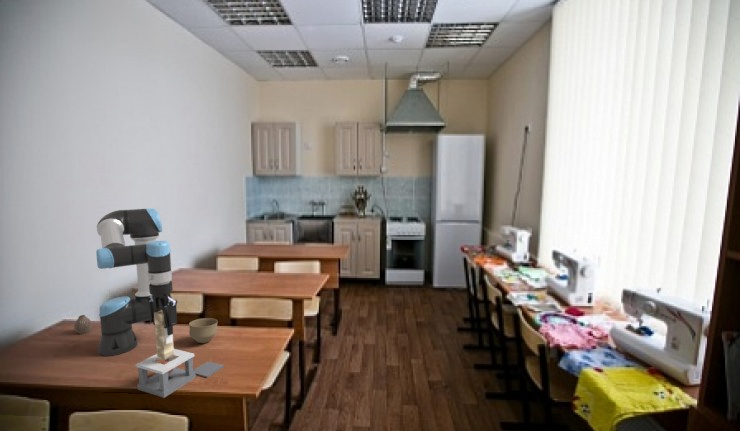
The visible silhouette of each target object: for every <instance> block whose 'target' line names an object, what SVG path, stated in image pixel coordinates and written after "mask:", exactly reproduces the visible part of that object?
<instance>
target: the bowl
mask: <svg viewBox="0 0 740 431" xmlns="http://www.w3.org/2000/svg"><path fill="white" fill-rule="evenodd" d="M188 325H189V332H188V333H189V337H190V338H191V339H193V340H194V341H196V342H197V343H198V344H204V343H208V342H209V341H210V340H211V339H213V338H214V337H215V336H216V334H218V333H217V332H218V320H217V319H216V318H211V317H206V318H205V317H204V318H198V319H195V320H191V321H190V322H189V324H188Z"/></svg>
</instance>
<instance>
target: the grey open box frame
mask: <svg viewBox="0 0 740 431" xmlns="http://www.w3.org/2000/svg"><path fill="white" fill-rule="evenodd" d="M195 356H196V355H195V353H194V352H193V353H192V352H188V351H184V350H181V349H177V348H174V355H173V356H172V357H170V358H168V359H166V360H164V362H165V361H170V362H168V363H167V364H165V365H164V364H161V363H160V362H159V361H161V360H162V359H159V358H157V353H155V354H154V355H151V356H149V357H147V358H145V359H143V360H142V361H140V362H138V363H135V368H137V369H138V382H139V383H137V385H136V387H137V390H138V391H142V392H145V393H147V394H151V395H155V396H157V397H160V398H163V399H165V398H166V397H168V396H169V395H171V394H172V393H175V392H176V391H177V390H179V389H180V388H182V387H183V386H186V385H187V384H188V383H189V382H192V381H193V380H194V379H196V376H197V375H196V373H194V372H193V370H194V357H195ZM183 363H184V369H183V368H179V367H178V366H180V365H182V364H183ZM171 369H173V371H172V372H170V373H169V377H168V371H169V370H171ZM148 371H149V372H153V373H155V374H153V375H151V376H150V377H149V376H148Z"/></svg>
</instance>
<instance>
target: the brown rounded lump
mask: <svg viewBox="0 0 740 431" xmlns="http://www.w3.org/2000/svg"><path fill="white" fill-rule="evenodd" d="M73 324H74V326H73V329H74V331H75V333H77V334H79V335H80V334H81V335H82V334H86V333H88V332H89V331H90V330H91V328H92V322H91V320H90V318H88V317H87V316H86V315H85V314H82V315H79V316H78V318H77V319H76V321H75V322H74V323H73Z"/></svg>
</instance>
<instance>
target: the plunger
mask: <svg viewBox="0 0 740 431" xmlns="http://www.w3.org/2000/svg"><path fill="white" fill-rule="evenodd" d="M168 362H170V361H165V360H164V361H163V362H161V363H160V364H164V365H165V364H167V363H168ZM172 371H173V369H171V370H169V371H168V377H169V373H170V372H172Z"/></svg>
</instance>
